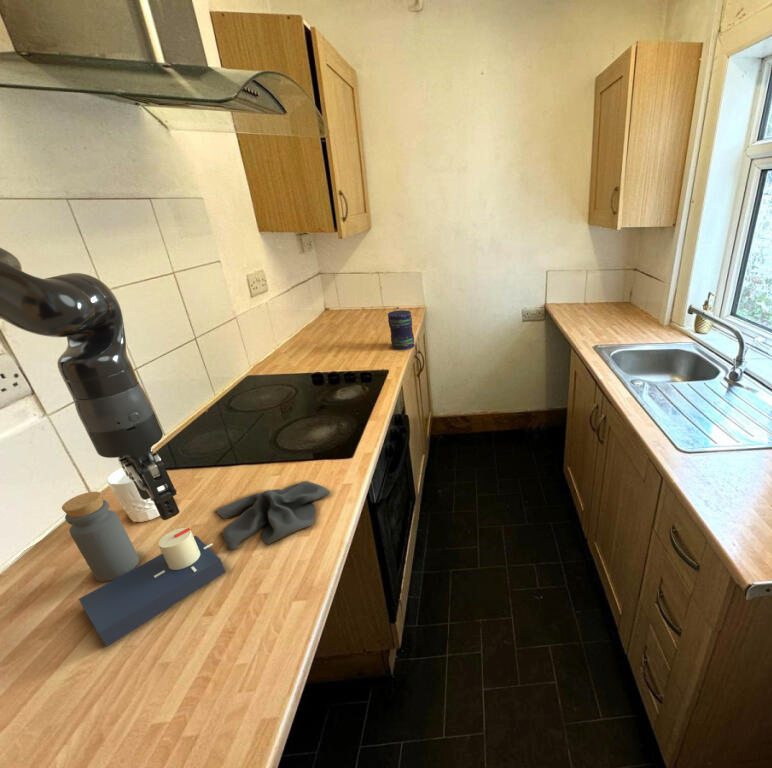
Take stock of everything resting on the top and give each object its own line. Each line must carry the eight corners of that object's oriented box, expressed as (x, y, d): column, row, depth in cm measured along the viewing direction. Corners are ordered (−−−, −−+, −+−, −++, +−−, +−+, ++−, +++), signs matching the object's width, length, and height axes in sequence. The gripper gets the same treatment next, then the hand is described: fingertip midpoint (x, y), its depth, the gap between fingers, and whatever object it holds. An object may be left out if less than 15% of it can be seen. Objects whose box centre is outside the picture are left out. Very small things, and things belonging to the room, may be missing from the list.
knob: (174, 574, 68) (163, 550, 66) (164, 562, 70) (153, 538, 68) (204, 556, 71) (195, 533, 69) (194, 546, 74) (184, 522, 72)
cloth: (335, 479, 96) (329, 457, 93) (315, 539, 79) (309, 513, 77) (229, 492, 92) (221, 469, 90) (185, 557, 75) (174, 531, 73)
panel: (106, 647, 60) (97, 632, 59) (86, 612, 65) (77, 598, 64) (230, 568, 73) (225, 555, 72) (205, 544, 78) (200, 531, 77)
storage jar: (393, 343, 187) (388, 303, 179) (415, 342, 188) (411, 302, 180) (390, 350, 178) (384, 309, 170) (413, 349, 178) (408, 308, 171)
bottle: (137, 550, 77) (104, 484, 71) (141, 568, 73) (106, 500, 67) (95, 568, 73) (56, 500, 67) (96, 588, 69) (55, 518, 63)
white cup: (173, 514, 86) (156, 474, 82) (124, 530, 82) (103, 489, 78) (175, 494, 92) (159, 456, 88) (129, 508, 88) (110, 468, 84)
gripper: (71, 415, 61) (116, 503, 67) (100, 443, 53) (148, 539, 60) (135, 396, 66) (170, 479, 73) (169, 419, 59) (206, 509, 66)
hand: (160, 506), depth 66 cm, fingers open, 8 cm apart
